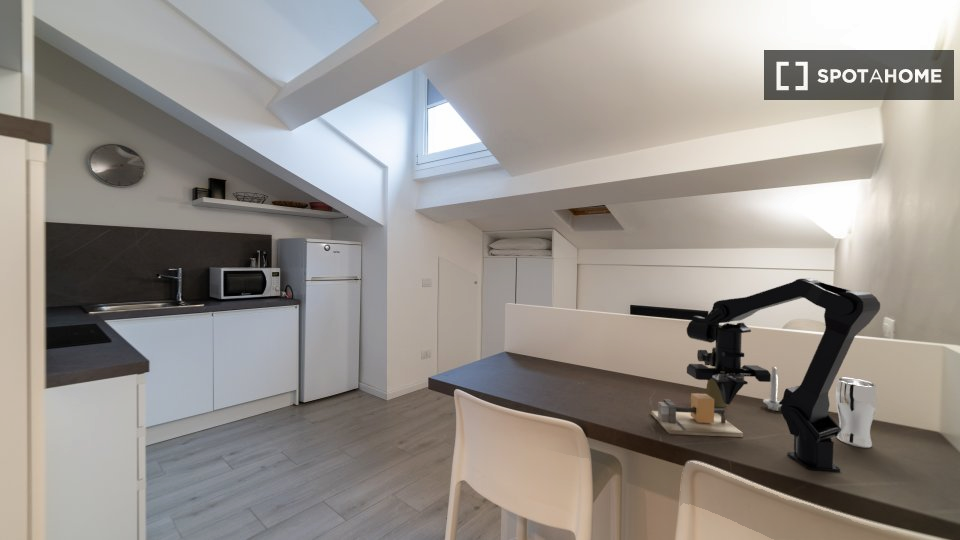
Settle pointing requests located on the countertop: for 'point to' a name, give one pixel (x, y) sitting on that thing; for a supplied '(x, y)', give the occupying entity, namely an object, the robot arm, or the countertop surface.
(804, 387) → the robot arm
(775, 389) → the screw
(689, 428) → the board
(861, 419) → the silver metal tumbler
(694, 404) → the orange block
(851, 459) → the countertop surface
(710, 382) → the olive green shaker
